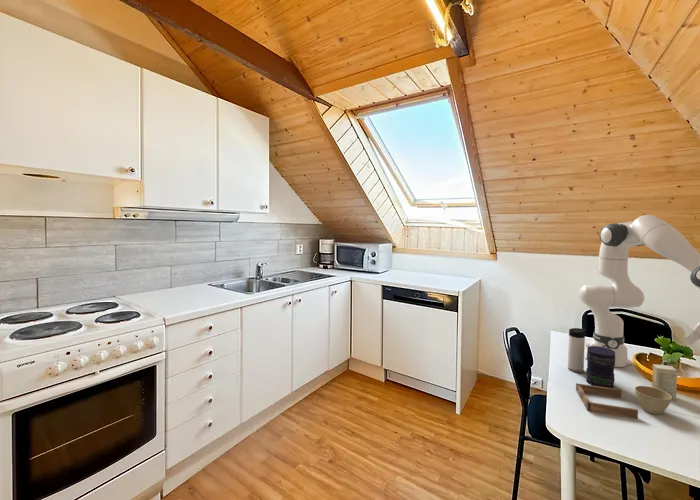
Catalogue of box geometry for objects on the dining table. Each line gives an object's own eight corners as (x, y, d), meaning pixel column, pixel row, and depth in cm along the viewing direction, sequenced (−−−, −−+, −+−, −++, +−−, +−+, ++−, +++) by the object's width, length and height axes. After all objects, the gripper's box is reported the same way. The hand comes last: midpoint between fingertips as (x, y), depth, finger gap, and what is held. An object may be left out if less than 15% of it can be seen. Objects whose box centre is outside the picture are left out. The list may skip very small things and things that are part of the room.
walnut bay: (575, 390, 137) (576, 383, 137) (620, 396, 131) (620, 389, 131) (587, 410, 122) (587, 402, 122) (637, 418, 117) (638, 410, 116)
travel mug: (587, 373, 152) (588, 331, 150) (571, 372, 153) (572, 330, 151) (580, 367, 158) (581, 327, 156) (565, 366, 159) (566, 326, 158)
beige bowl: (674, 421, 114) (675, 402, 114) (637, 413, 120) (637, 394, 119) (666, 407, 123) (667, 389, 122) (631, 400, 128) (632, 383, 128)
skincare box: (671, 395, 132) (673, 365, 131) (676, 400, 128) (678, 370, 127) (650, 392, 134) (652, 363, 133) (655, 397, 130) (656, 367, 129)
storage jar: (582, 376, 148) (583, 338, 147) (608, 379, 145) (610, 340, 144) (590, 387, 139) (591, 346, 138) (618, 390, 136) (620, 348, 134)
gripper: (709, 306, 117) (677, 334, 122) (711, 306, 103) (676, 337, 108) (731, 318, 113) (698, 346, 118) (737, 320, 99) (699, 352, 104)
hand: (687, 342), depth 113 cm, fingers open, 8 cm apart
